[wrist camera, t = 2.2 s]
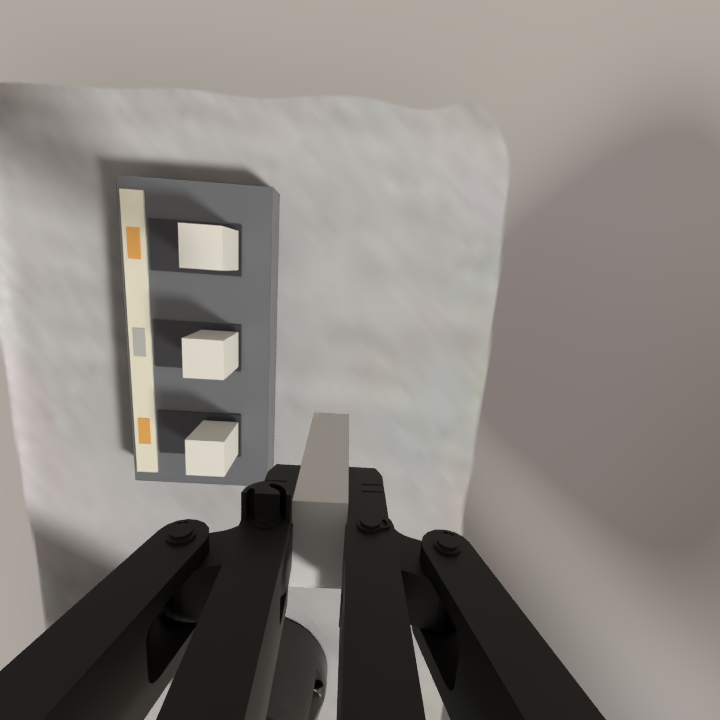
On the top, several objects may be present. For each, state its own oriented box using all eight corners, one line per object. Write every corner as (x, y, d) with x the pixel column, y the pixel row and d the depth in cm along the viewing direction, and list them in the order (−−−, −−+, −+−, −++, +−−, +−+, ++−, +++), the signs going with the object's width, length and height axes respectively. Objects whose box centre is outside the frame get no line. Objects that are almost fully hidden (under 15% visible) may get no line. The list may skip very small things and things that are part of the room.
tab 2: (238, 366, 33) (223, 380, 30) (202, 364, 33) (182, 377, 29) (238, 332, 33) (223, 340, 29) (201, 329, 33) (181, 338, 29)
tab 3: (238, 453, 35) (224, 476, 31) (204, 451, 35) (186, 474, 31) (238, 422, 35) (224, 441, 31) (203, 420, 34) (184, 439, 31)
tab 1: (238, 270, 32) (222, 270, 28) (200, 267, 31) (179, 267, 28) (238, 231, 31) (222, 225, 27) (199, 228, 31) (177, 222, 27)
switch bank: (273, 470, 40) (266, 488, 36) (151, 464, 39) (133, 481, 36) (279, 194, 34) (272, 186, 31) (136, 182, 33) (113, 173, 30)
